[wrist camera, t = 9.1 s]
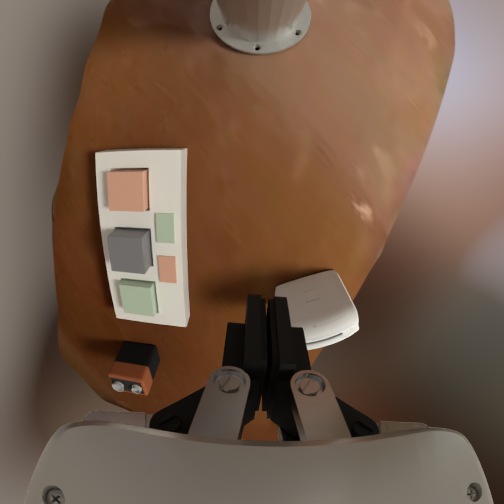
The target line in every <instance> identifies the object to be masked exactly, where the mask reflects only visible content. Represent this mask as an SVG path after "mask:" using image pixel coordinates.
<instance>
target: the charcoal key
mask: <svg viewBox="0 0 504 504" xmlns="http://www.w3.org/2000/svg"><path fill="white" fill-rule="evenodd" d="M107 242H108V250H109V256H110V263H111V269H112V271H118V272H127V273H137V274H145V273H146V272H147V270H148V269H149V267H150V266H151V264H152V254H151V241H150V229H132V228H116V229H115V230H114V231H113V232H111V233H110V234H109V235H108V236H107Z"/></svg>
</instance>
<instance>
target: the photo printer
mask: <svg viewBox="0 0 504 504" xmlns="http://www.w3.org/2000/svg"><path fill="white" fill-rule="evenodd" d="M275 296H279V297H287V302H288V308H289V314H290V321H291V327H302V328H303V330H304V335H305V340H306V345H307V350H311V349H316V348H320V347H324V346H327V345H330V344H333V343H336V342H338V341H341V340H343V339H345V338H347V337H349V336H350V335H352V334H353V333H355V332H356V331H358V330H359V326H358V320H359V319H358V314H357V310H356V308H355V306H354V304H353V302H352V300H351V298H350V296H349V294H348V292H347V290H346V288H345V286H344V284H343V282H342V280H341V278H340V276H339V275H338V273H337V272H336V271H335V270H330V271H325V272H321V273H317V274H313V275H310V276H307V277H303V278H300V279H296V280H293V281H290V282H287V283H284V284H281V285H279V286H277V287H276V290H275Z"/></svg>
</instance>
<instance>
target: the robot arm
mask: <svg viewBox="0 0 504 504" xmlns="http://www.w3.org/2000/svg"><path fill="white" fill-rule="evenodd" d="M210 22H211V26H212V28H213V30H214V32H215V33H216V35H217V36H218V37H219V38H220V39H221V40H222V41H223V42H224V43H225V44H227V45H228V46H230V47H231V48H233V49H236V50H238V51H240V52H244V53H248V54H255V55H269V54H274V53H279V52H282V51H284V50H287V49H289V48H291V47H292V46H294V45H295V44H297V43H298V42H299V41H300V40H301V39H302V38H303V36H304V35H305V34H306V32H307V30H308V28H309V25H310V22H311V10H310V6H309V4H308V2H307V0H213V1H212V3H211V7H210ZM220 28H222V30H220V31H219V29H220ZM296 33H298V34H299V36H298V35H296ZM255 48H259V50H255ZM261 395H262V411H267V418H270V420H272V421H273V422H274V423H275V424H277V433H278V437H279V441H252V440H241V438H242V434H243V430H244V426H245V425H246V424H247V423H249V422H250V421H252V420H253V419H254V416H255V411H258V410H259V405H260V400H261ZM23 504H493V500H492V497H491V493H490V490H489V487H488V483H487V480H486V477H485V475H484V472H483V470H482V467H481V465H480V462H479V460H478V458H477V455H476V454H475V452H474V450H473V448H472V446H471V445H470V443H469V441H468V440H467V439H466V437H465V436H464V435H462V434H460V433H459V432H456V431H454V430H450V429H443V428H429V427H428V426H427V425H425V424H423V423H408V422H388V421H380V423H375V422H374V421H373V420H372V419H370V418H369V417H367V416H366V415H364V414H362V413H361V412H359V411H357V410H356V409H354V408H353V407H351V406H349V405H348V404H346V403H345V402H343V401H341V400H340V399H338V398H337V397H335V396H334V393H333V391H332V389H331V386H330V384H329V382H328V380H327V379H326V377H325V376H323V375H322V374H320V373H319V372H316V371H312V370H311V367H310V361H309V356H308V351H307V345H306V340H305V335H304V330H303V328H302V327H291V321H290V314H289V308H288V302H287V297H279V296H274V298H273V299H269V301H268V307H267V314H266V306H265V299H261V296H260V295H253V294H248V298H247V308H246V318H245V324H242V323H231V322H228V325H227V332H226V340H225V347H224V355H223V363H222V367H220V368H218V369H216V370H214V371H213V372H212V373H211V375H210V376H209V379H208V382H207V384H206V386H205V387H203V388H202V389H200V390H198V391H196V392H194V393H192V394H191V395H189V396H187V397H185V398H183V399H181V400H179V401H177V402H175V403H174V404H172V405H170V406H168V407H166V408H164V409H162V410H160V411H158V412H157V413H155V414H154V415H146V414H145V412H115V411H100V410H98V411H92V412H90V413H88V414H87V415H86V416H85V417H84V419H83V421H78V422H73V423H69V424H66V425H64V426H62V427H61V428H59V429H58V430H57V431H56V432H55V434H54V435H53V436H52V437H51V439H50V440H49V442H48V443H47V445H46V447H45V449H44V451H43V453H42V455H41V457H40V459H39V461H38V464H37V466H36V468H35V471H34V473H33V476H32V479H31V481H30V484H29V488H28V491H27V493H26V497H25V500H24V503H23Z"/></svg>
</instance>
